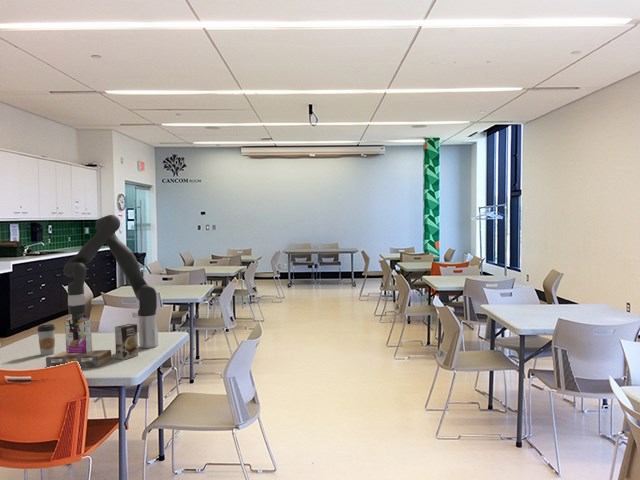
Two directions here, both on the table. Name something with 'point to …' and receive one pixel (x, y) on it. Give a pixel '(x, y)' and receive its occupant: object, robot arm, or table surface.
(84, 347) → the candy bar box
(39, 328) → the coffee cup
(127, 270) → the robot arm
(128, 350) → the coffee box
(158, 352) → the table surface
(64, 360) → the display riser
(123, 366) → the table surface
